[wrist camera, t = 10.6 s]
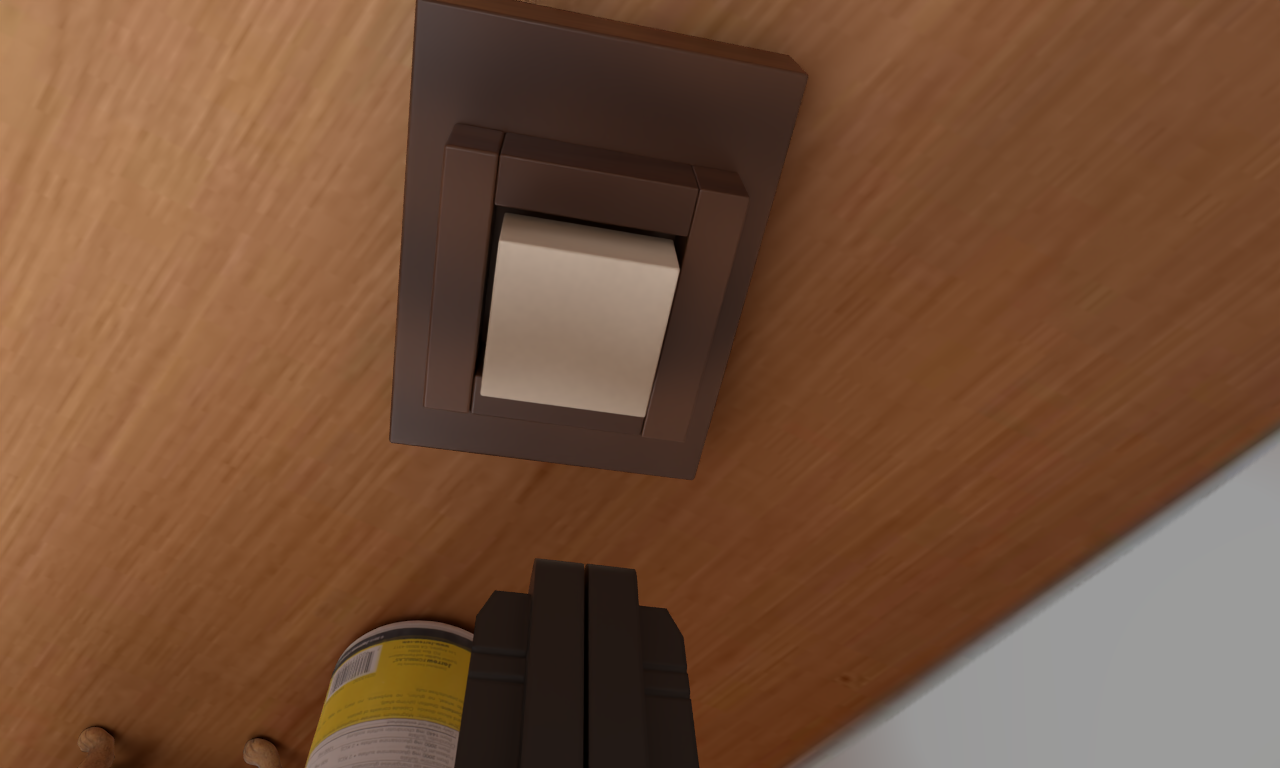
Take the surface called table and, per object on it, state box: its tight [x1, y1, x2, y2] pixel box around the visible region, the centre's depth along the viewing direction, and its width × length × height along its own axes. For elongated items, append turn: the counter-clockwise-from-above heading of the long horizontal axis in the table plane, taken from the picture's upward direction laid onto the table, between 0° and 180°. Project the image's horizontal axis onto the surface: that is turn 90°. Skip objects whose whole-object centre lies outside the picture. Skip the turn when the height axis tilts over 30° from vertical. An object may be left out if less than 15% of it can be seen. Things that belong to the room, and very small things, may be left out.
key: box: [480, 213, 680, 417], centre depth 21 cm, size 4×4×2 cm
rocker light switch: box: [389, 0, 808, 480], centre depth 23 cm, size 12×9×4 cm
